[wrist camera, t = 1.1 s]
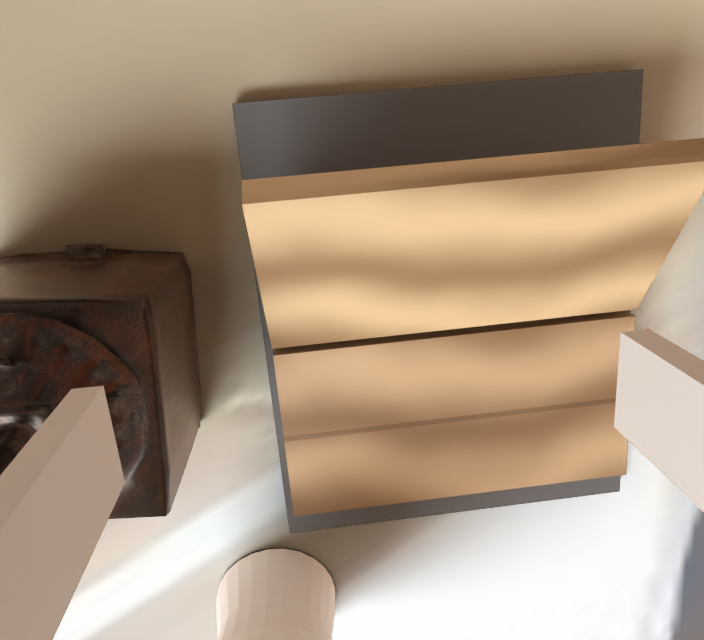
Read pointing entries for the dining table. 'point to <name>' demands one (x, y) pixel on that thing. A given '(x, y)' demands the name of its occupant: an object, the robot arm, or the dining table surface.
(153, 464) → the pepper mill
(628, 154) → the plank
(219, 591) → the cup
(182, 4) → the dining table surface
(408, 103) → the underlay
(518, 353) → the plank
